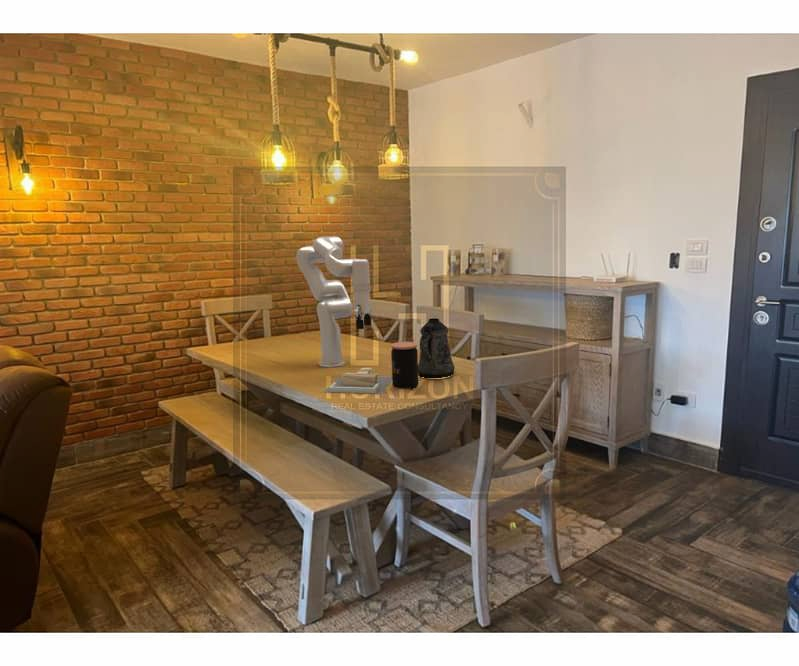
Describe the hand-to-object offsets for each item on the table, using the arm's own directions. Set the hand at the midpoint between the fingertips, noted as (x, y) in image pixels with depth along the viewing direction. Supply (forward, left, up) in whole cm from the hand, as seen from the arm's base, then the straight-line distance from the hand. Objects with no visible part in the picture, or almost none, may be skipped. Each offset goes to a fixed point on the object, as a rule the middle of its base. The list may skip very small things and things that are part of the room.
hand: (364, 327), depth 254 cm
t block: (+11, +2, -21) cm, 24 cm away
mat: (+16, +2, -22) cm, 28 cm away
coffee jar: (+15, +21, -22) cm, 34 cm away
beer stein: (-4, +31, -22) cm, 38 cm away
